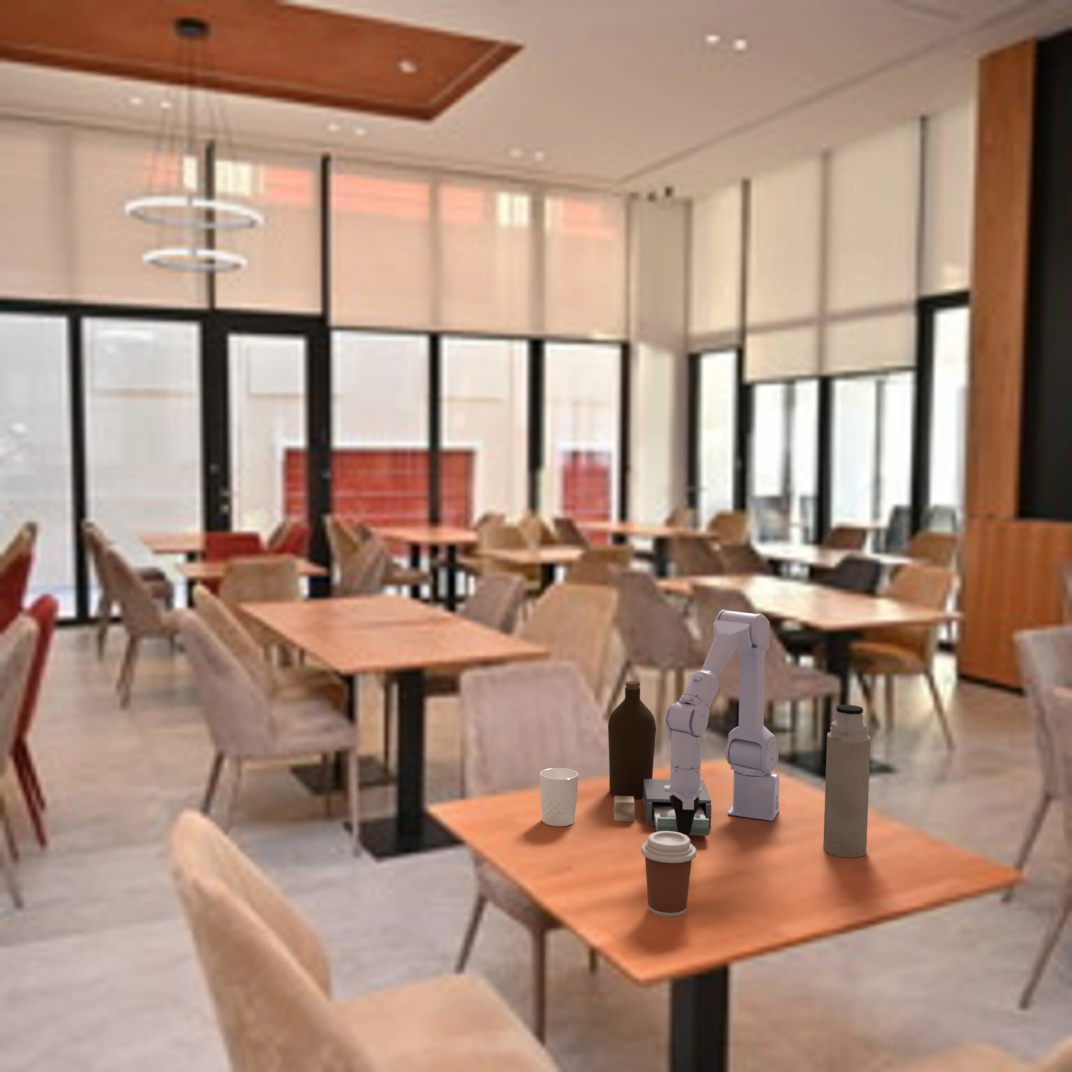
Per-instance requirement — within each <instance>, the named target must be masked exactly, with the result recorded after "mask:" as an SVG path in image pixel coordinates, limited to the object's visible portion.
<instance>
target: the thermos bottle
mask: <svg viewBox="0 0 1072 1072" xmlns="http://www.w3.org/2000/svg"><path fill="white" fill-rule="evenodd" d="M863 713H864V708H863V707H861V706H859V705H853V704H840V705H839V704H838V705H837V706H836V715H835V716H836V717H835V718H836V719H835V720H833V721H832V722H831V723H830V725H831V726H830V728H829V729H830V731H829V732H827V735H826V757H825V759H826V761H825V784H824V785H825V786H824V787H825V791H824V817H823V819H824V820H823V842H822V843H823V844H822V845H823V846H822V847H823V850H824V851H825V852H826V853H828V854H831V855H832V856H837V857H843V858H860V857H863V856H865V855H866V853H867V848H868V847H867V845H868V843H867V842H868V821H869V819H868V818H869V817H868V816H869V815H868V814H869V813H868V812H869V792H870V791H869V789H870V766H871V765H870V763H871V762H870V761H871V760H870V759H871V740H872V739H871V736H869V735H868V731H869V729H868V725H867V723H865V722H863V721H864V720H863V719H864V715H863Z"/></svg>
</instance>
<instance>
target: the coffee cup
mask: <svg viewBox="0 0 1072 1072" xmlns="http://www.w3.org/2000/svg"><path fill="white" fill-rule="evenodd" d="M640 852H641V854H642V855H643V857H644V860H645V876H646V877H645V878H646V891H647V895H646V896H647V910H648V911H649V912H650V913H652V914H654V915H657V916H660V917H668V918H672V917H673V918H674V917H679V916H683V915H684V914H686V913H687V908H688V907H687V906H688V899H689V898H688V895H689V888H690V887H689V886H690V878H691V870H692V869H691V868H692V860H693V859H695V858H696V856H697V848H696V847H695V846H694V845H693V844H692V842H691V839H690V837H689V836H688V835H684V834H682V833H678V832H672V831H659V832H657V831H656V832H652V833H650V834H649V835H648V836H647V840H646V841H645V842H643V843H642V844H641V848H640Z"/></svg>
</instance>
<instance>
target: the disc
mask: <svg viewBox="0 0 1072 1072" xmlns="http://www.w3.org/2000/svg"><path fill="white" fill-rule="evenodd" d="M667 817H672V818H676V816H675V811H674V810H670V811H668V812H667ZM694 818H695V816H694Z"/></svg>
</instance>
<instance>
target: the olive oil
mask: <svg viewBox="0 0 1072 1072" xmlns="http://www.w3.org/2000/svg"><path fill="white" fill-rule="evenodd" d="M640 687H641V683H640V682H639V681H637V680H636V681H635V680H628V681H626V682H625V688H624V699H623V700H622V701H621V702H620V704H619V705H617V707H616V708H614V710H612V712H611V714H610V716H609V719H608V722H607V735H608V736H607V737H608V738H607V739H608V764H609V765H608V766H609V767H608V768H609V769H608V770H609V771H608V772H609V775H608V776H609V780H608V781H609V793H610V794H611V795H612V796H634V800H639V799H643V779H653V777H654V776H653V775H654V773H653V772H654V760H655V745H656V733H657V723H656V720H655V719H656V718H655V716H654V714H653V713H652V712H651V710H650V709H649V708H648V707H647V705H646V704H644V702H643V701H642V700H641V688H640Z"/></svg>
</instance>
